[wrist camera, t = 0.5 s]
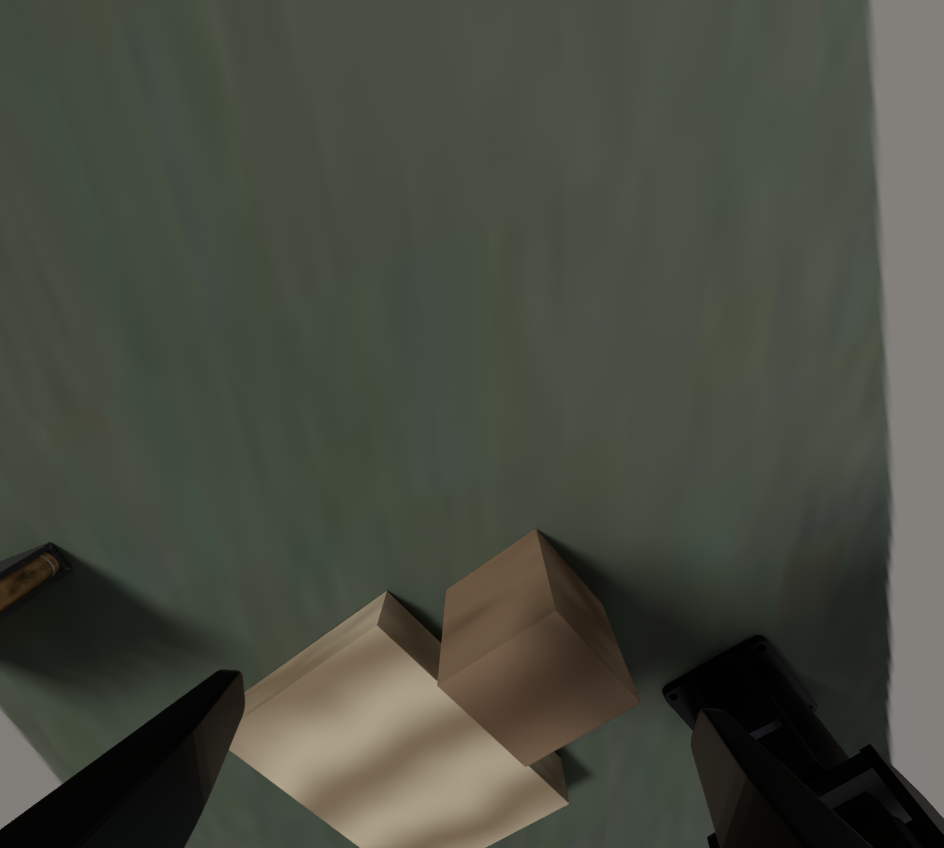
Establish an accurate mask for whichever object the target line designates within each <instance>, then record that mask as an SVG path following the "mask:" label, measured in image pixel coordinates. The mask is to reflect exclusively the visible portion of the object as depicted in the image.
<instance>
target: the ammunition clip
mask: <svg viewBox="0 0 944 848" xmlns="http://www.w3.org/2000/svg"><path fill="white" fill-rule="evenodd" d="M70 571H72V569H71V568H70V567H69V566H68V564H67V563H66V562H65V561H64V559H63V558H62V557H61V555H60V554H59V553H58V552H57V550H56V549H55V548H54V547H53V545H52V544H51V543H50V542H49V543H46V544H44V545H41V546H39V547H36V548H34V549H31V550H28V551H26V552H23V553H21V554H18V555H16V556H13V557H10V558H8V559H5V560H3V561H0V621H1V620H2V619H3V618H5V617H6V616H8V615H9V614H11V613H12V612H13V611H15V610H16V609H18V608H19V607H20V606H22V605H23V604H25V603H26V602H28V601H29V600H30V599H32V598H33V597H35V596H36V595H38V594H39V593H40V592H42V591H43V590H45V589H46V588H47V587H49V586H50V585H52V584H53V583H55V582H56V581H57V580H59V579H60V578H62V577H63V576H65V575H66V574H67V573H69V572H70Z"/></svg>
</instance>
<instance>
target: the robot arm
mask: <svg viewBox="0 0 944 848" xmlns="http://www.w3.org/2000/svg"><path fill="white" fill-rule="evenodd" d="M759 645H760V646H759ZM662 693H663V695H664V697H665V699H666V701H667V702H668V703H669V705H670V706H671V707H672V708H673V709H674V710H675V711H676V712H677V714H678V715H679V716H680V717H681V718H682V719H683V720H684V721H685V722H686V724H687V725H688V726H689V727H690V728H691V729H692V730H693V734H692V738H691V748H692V753H693V757H694V760H695V764H696V767H697V771H698V774H699V778H700V781H701V784H702V788H703V791H704V795H705V798H706V802H707V805H708V809H709V812H710V815H711V819H712V822H713V826H714V829H715V833H713V834H711V835H709V836H708V837H707V840H708V843H709V847H710V848H944V819H943V817H942V816H941V815H940V814H939V813H938V812H937V811H936V810H935V808H934V807H933V806H932V805H931V804H930V803H929V802H928V801H927V799H926V798H925V797H924V796H923V795H922V794H921V793H920V792H919V791H918V790H917V789H916V788H915V787H914V786H913V785H912V784H911V783H910V782H909V781H908V780H907V779H906V778H905V777H904V776H903V775H902V774H900V773H899V771H898V770H896V769H895V768H894V767H893V766H892V765H891V764H890V763H889V762H888V761H887V760H886V759H885V758H884V757H883V756H882V755H881V754H880V753H879V752H878V751H877V750H876V749H875V748H874V747H873V746H872V745H871V744H869V745H867V746H865V747H863V748H862V749H860V752H861V753H859V754H857V755H855V756H854V757H852V758H849V757H848V756H847V754H846V753H845V752H844V750H843V749H842V748H841V747H840V745H839V744H838V743H837V741H836V740H835V739H834V738H833V736H832V735H831V734H830V733H829V731H828V730H827V729H826V727H825V726H824V725H823V724H822V722H821V721H820V720H819V718H818V717H817V716H816V715H815V713H814V712H815V711H816V709H817V705H816V703H815V702H814V701H813V699H812V698H811V697H810V695H809V694H808V693H807V691H806V690H805V689H804V687H803V686H802V685H801V684H800V682H799V681H798V680H797V678H796V677H795V676H794V674H793V673H792V672H791V671H790V669H789V668H788V667H787V665H786V664H785V663H784V661H783V660H782V659H781V657H780V656H779V655H778V654H777V652H776V651H775V650H774V648H773V647H772V646H771V644H770V643H769V642H768V641H767V639H766V638H765V637H763V636H754V637H752V638H750V639H748V640H747V641H745V642H743V643H741V644H740V645H738V646H736V647H734V648H732V649H731V650H729V651H727V652H725V653H723V654H722V655H720V656H718V657H716V658H714V659H713V660H711V661H709V662H707V663H706V664H704V665H702V666H700V667H698V668H697V669H695V670H693V671H691V672H689V673H688V674H686V675H684V676H682V677H680V678H679V679H677V680H675V681H673V682H671V683H670V684H668V685H666V686H665V687H664V688H663V690H662ZM244 710H245V692H244V682H243V675H242V673H241V672H240V671H238V670H225V669H222V670H219V671H217V672H215V673H214V674H212V675H211V676H210V677H208V678H207V679H206V680H204V681H203V682H201V683H200V684H199V685H197V686H196V687H195V688H193V689H192V690H190V691H189V692H188V693H186V694H185V695H184V696H182V697H181V698H180V699H178V700H177V701H175V702H174V703H173V704H171V705H170V706H169V707H167V708H166V709H164V710H163V711H162V712H160V713H159V714H158V715H156V716H155V717H154V718H152V719H151V720H149V721H148V722H147V723H145V724H144V725H143V726H141V727H140V728H139V729H137V730H136V731H134V732H133V733H132V734H130V735H129V736H128V737H126V738H125V739H123V740H122V741H121V742H119V743H118V744H117V745H115V746H114V747H113V748H111V749H110V750H108V751H107V752H106V753H104V754H103V755H102V756H100V757H99V758H97V759H96V760H95V761H93V762H92V763H91V764H89V765H88V766H87V767H85V768H84V769H82V770H81V771H80V772H78V773H77V774H76V775H74V776H73V777H71V778H70V779H69V780H67V781H66V782H65V783H63V784H62V785H61V786H59V787H58V788H57V789H55V790H54V791H52V792H51V793H50V794H48V795H47V796H46V797H44V798H43V799H41V800H40V801H39V802H37V803H36V804H35V805H33V806H32V807H30V808H29V809H28V810H26V811H25V812H24V813H22V814H21V815H20V816H18V817H17V818H15V819H14V820H13V821H11V822H10V823H9V824H7V825H6V826H4V827H3V828H2V829H1V830H0V848H184V847H185V845H186V843H187V841H188V839H189V837H190V835H191V834H192V832H193V830H194V828H195V826H196V824H197V822H198V820H199V818H200V816H201V814H202V812H203V810H204V808H205V805H206V803H207V801H208V798H209V796H210V794H211V792H212V789H213V787H214V784H215V782H216V780H217V777H218V775H219V772H220V770H221V767H222V765H223V763H224V760H225V758H226V755H227V753H228V751H229V748H230V746H231V743H232V741H233V738H234V736H235V734H236V731H237V729H238V726H239V724H240V722H241V719H242V717H243V714H244Z"/></svg>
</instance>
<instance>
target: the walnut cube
mask: <svg viewBox="0 0 944 848" xmlns="http://www.w3.org/2000/svg"><path fill="white" fill-rule="evenodd" d="M437 686H438V687H439V688H440V689H441V690H442V691H443V692H444V693H446V694H447V695H448V696H449V697H450V698H451V699H452V700H453V701H454V702H455V703H456V704H457V705H459V706H460V707H461V708H462V709H463V710H464V711H465V712H466V713H467V714H468V715H469V716H470V717H472V718H473V719H474V720H475V721H476V722H477V723H478V724H479V725H480V726H481V727H482V728H483V729H485V730H486V731H487V732H488V733H489V734H490V735H491V736H492V737H493V738H494V739H495V740H496V741H498V742H499V743H500V744H501V745H502V746H503V747H504V748H505V749H506V750H507V751H508V752H509V753H511V754H512V755H513V756H514V757H515V758H516V759H517V760H518V761H519V762H520V763H521V764H522V765H524V766H525V767H527V766H529V765H530V764H532V763H534V762H536V761H538V760H539V759H541V758H543V757H545V756H547V755H548V754H550V753H552V752H554V751H556V750H557V749H559V748H561V747H563V746H564V745H566V744H568V743H570V742H572V741H573V740H575V739H577V738H579V737H581V736H582V735H584V734H586V733H588V732H590V731H591V730H593V729H595V728H597V727H599V726H600V725H602V724H604V723H606V722H608V721H609V720H611V719H613V718H615V717H616V716H618V715H620V714H622V713H624V712H625V711H627V710H629V709H631V708H633V707H634V706H636V705H638V704H640V703H641V702H640V700H639V697H638V695H637V692H636V689H635V687H634V684H633V682H632V679H631V677H630V674H629V672H628V669H627V666H626V664H625V661H624V659H623V656H622V654H621V651H620V649H619V646H618V643H617V641H616V638H615V636H614V633H613V631H612V628H611V625H610V623H609V620H608V618H607V615H606V613H605V610H604V608H603V605H602V603H601V602H600V601H599V600H598V599H597V598H596V597H595V595H594V594H593V593H592V592H591V591H590V590H589V589H588V587H587V586H586V585H585V584H584V583H583V582H582V581H581V579H580V578H579V577H578V576H577V575H576V574H575V573H574V571H573V570H572V569H571V568H570V567H569V566H568V565H567V563H566V562H565V561H564V560H563V559H562V558H561V557H560V555H559V554H558V553H557V552H556V551H555V550H554V549H553V547H552V546H551V545H550V544H549V543H548V542H547V541H546V539H545V538H544V537H543V536H542V535H541V534H540V533H539V531H538V530H537V529H534V530H533V531H531V532H530V533H529V534H527V535H526V536H524V537H523V538H521V539H520V540H518V541H517V542H515V543H514V544H513V545H511V546H510V547H508V548H507V549H505V550H504V551H502V552H501V553H499V554H498V555H497V556H495V557H494V558H492V559H491V560H489V561H488V562H486V563H485V564H483V565H482V566H481V567H479V568H478V569H476V570H475V571H473V572H472V573H470V574H469V575H467V576H466V577H465V578H463V579H462V580H460V581H459V582H457V583H456V584H454V585H453V586H451V587H450V588H449V589H447V590H446V598H445V609H444V620H443V630H442V641H441V651H440V662H439V673H438V683H437Z"/></svg>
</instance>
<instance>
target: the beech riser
mask: <svg viewBox="0 0 944 848" xmlns="http://www.w3.org/2000/svg"><path fill="white" fill-rule="evenodd" d="M440 651H441V643H440V642H439V641H438V640H437V639H436V638H435V637H434V636H433V635H432V634H431V633H430V632H429V631H428V630H427V629H426V628H425V627H424V626H423V625H422V624H421V623H420V622H419V621H418V620H417V619H415V618H414V617H413V616H412V615H411V614H410V613H409V612H408V611H407V610H406V609H405V608H404V607H403V606H402V605H401V604H400V603H399V602H398V601H397V600H396V599H395V598H394V597H393V596H392V595H391V594H389V593H388V592H387V591H386V592H385V593H383V594H382V595H380V596H379V597H378V598H376V599H375V600H373V601H372V602H371V603H369V604H368V605H366V606H365V607H364V608H362V609H361V610H359V611H358V612H356V613H355V614H354V615H352V616H351V617H349V618H348V619H347V620H345V621H344V622H342V623H341V624H340V625H338V626H337V627H335V628H334V629H333V630H331V631H330V632H328V633H327V634H326V635H324V636H323V637H321V638H320V639H319V640H317V641H316V642H314V643H313V644H312V645H310V646H309V647H307V648H306V649H305V650H303V651H302V652H300V653H299V654H298V655H296V656H295V657H293V658H292V659H291V660H289V661H288V662H286V663H285V664H284V665H282V666H281V667H279V668H278V669H277V670H275V671H274V672H272V673H271V674H270V675H268V676H267V677H265V678H264V679H263V680H261V681H260V682H258V683H257V684H256V685H254V686H253V687H251V688H250V689H249V690H247V691H246V692H245V710H244V714H243V717H242V719H241V722H240V724H239V726H238V729H237V731H236V734H235V736H234V738H233V741H232V743H231V746H230V748H229V750H230V751H231V752H233V753H234V754H235V755H237V756H238V757H239V758H241V759H242V760H243V761H245V762H246V763H247V764H249V765H250V766H252V767H253V768H254V769H256V770H257V771H258V772H260V773H261V774H262V775H264V776H265V777H266V778H268V779H269V780H270V781H272V782H273V783H274V784H276V785H277V786H278V787H280V788H281V789H282V790H284V791H285V792H286V793H288V794H289V795H290V796H292V797H293V798H294V799H296V800H297V801H298V802H300V803H301V804H302V805H304V806H305V807H306V808H308V809H309V810H310V811H312V812H313V813H314V814H316V815H317V816H318V817H320V818H321V819H322V820H324V821H325V822H326V823H328V824H329V825H330V826H332V827H333V828H334V829H336V830H337V831H338V832H340V833H341V834H342V835H344V836H345V837H346V838H348V839H349V840H350V841H352V842H353V843H354V844H356V845H357V846H358V847H360V848H486V847H487V846H489V845H491V844H493V843H495V842H497V841H499V840H501V839H503V838H505V837H507V836H509V835H510V834H512V833H514V832H516V831H518V830H520V829H522V828H524V827H526V826H528V825H530V824H531V823H533V822H535V821H537V820H539V819H541V818H543V817H545V816H547V815H549V814H551V813H552V812H554V811H556V810H558V809H560V808H562V807H564V806H566V805H568V804H569V800H568V794H567V788H566V783H565V777H564V771H563V766H562V760H561V758H560V757H559V756H558V755H557V754H556V753H555V752H552V753H550V754H548V755H547V756H545V757H543V758H541V759H539V760H538V761H536V762H534V763H532V764H530V765H529V766H527V767H525V766H524V765H522V764H521V763H520V762H519V761H518V760H517V759H516V758H515V757H514V756H513V755H512V754H511V753H509V752H508V751H507V750H506V749H505V748H504V747H503V746H502V745H501V744H500V743H499V742H498V741H496V740H495V739H494V738H493V737H492V736H491V735H490V734H489V733H488V732H487V731H486V730H485V729H483V728H482V727H481V726H480V725H479V724H478V723H477V722H476V721H475V720H474V719H473V718H472V717H470V716H469V715H468V714H467V713H466V712H465V711H464V710H463V709H462V708H461V707H460V706H459V705H457V704H456V703H455V702H454V701H453V700H452V699H451V698H450V697H449V696H448V695H447V694H446V693H444V692H443V691H442V690H441V689H440V688H439V687H438V686H437V683H438V673H439V662H440Z"/></svg>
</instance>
